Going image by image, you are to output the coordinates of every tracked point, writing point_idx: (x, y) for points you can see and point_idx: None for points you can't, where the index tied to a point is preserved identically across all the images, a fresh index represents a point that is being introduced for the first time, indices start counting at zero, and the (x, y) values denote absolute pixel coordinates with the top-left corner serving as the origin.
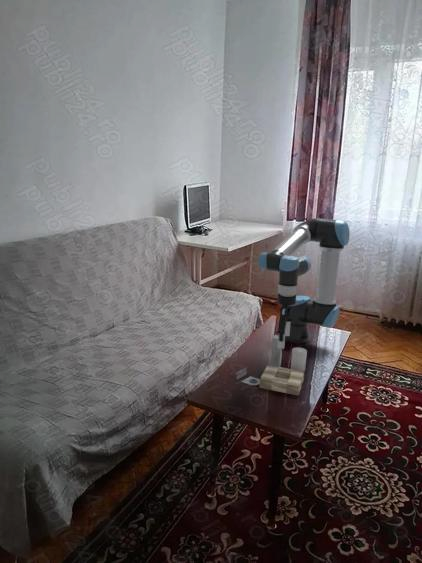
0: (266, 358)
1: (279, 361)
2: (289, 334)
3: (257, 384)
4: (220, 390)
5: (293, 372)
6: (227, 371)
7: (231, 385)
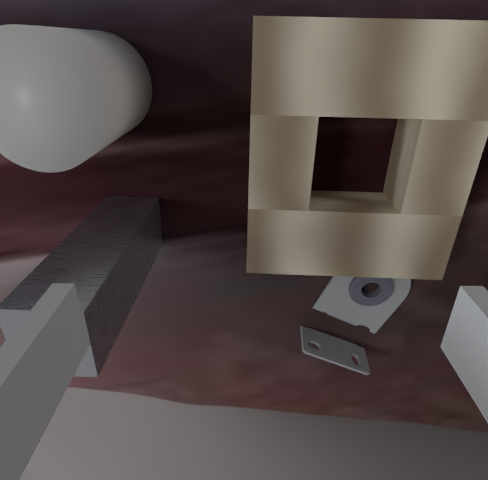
0: None
1: (147, 216)
2: (47, 293)
3: None
4: None
5: (298, 101)
6: (299, 390)
7: (423, 355)
